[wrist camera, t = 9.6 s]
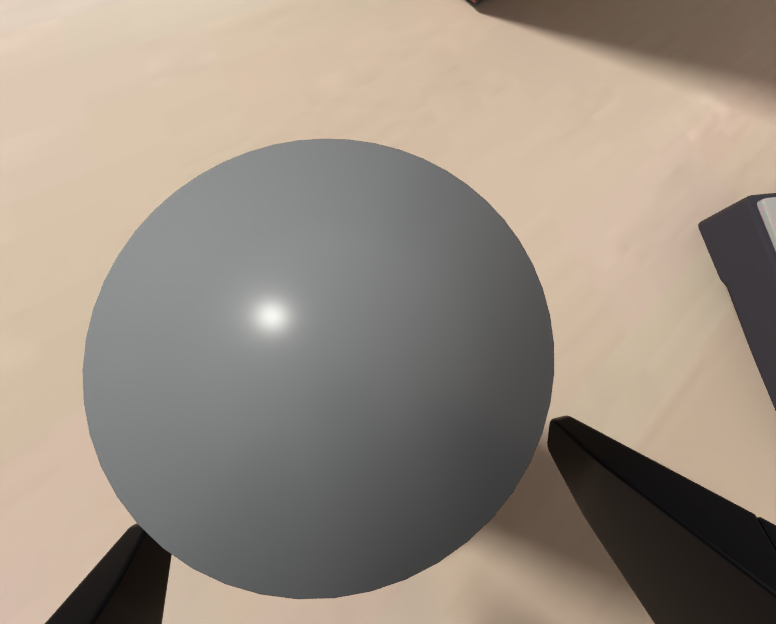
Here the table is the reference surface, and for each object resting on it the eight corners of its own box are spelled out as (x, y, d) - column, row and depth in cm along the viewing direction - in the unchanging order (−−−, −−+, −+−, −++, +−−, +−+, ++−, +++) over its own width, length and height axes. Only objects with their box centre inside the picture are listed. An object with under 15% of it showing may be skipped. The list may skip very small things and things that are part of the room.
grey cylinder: (421, 500, 16) (611, 765, 4) (252, 465, 16) (-133, 609, 4) (447, 335, 18) (616, 150, 6) (298, 305, 18) (155, 57, 6)
